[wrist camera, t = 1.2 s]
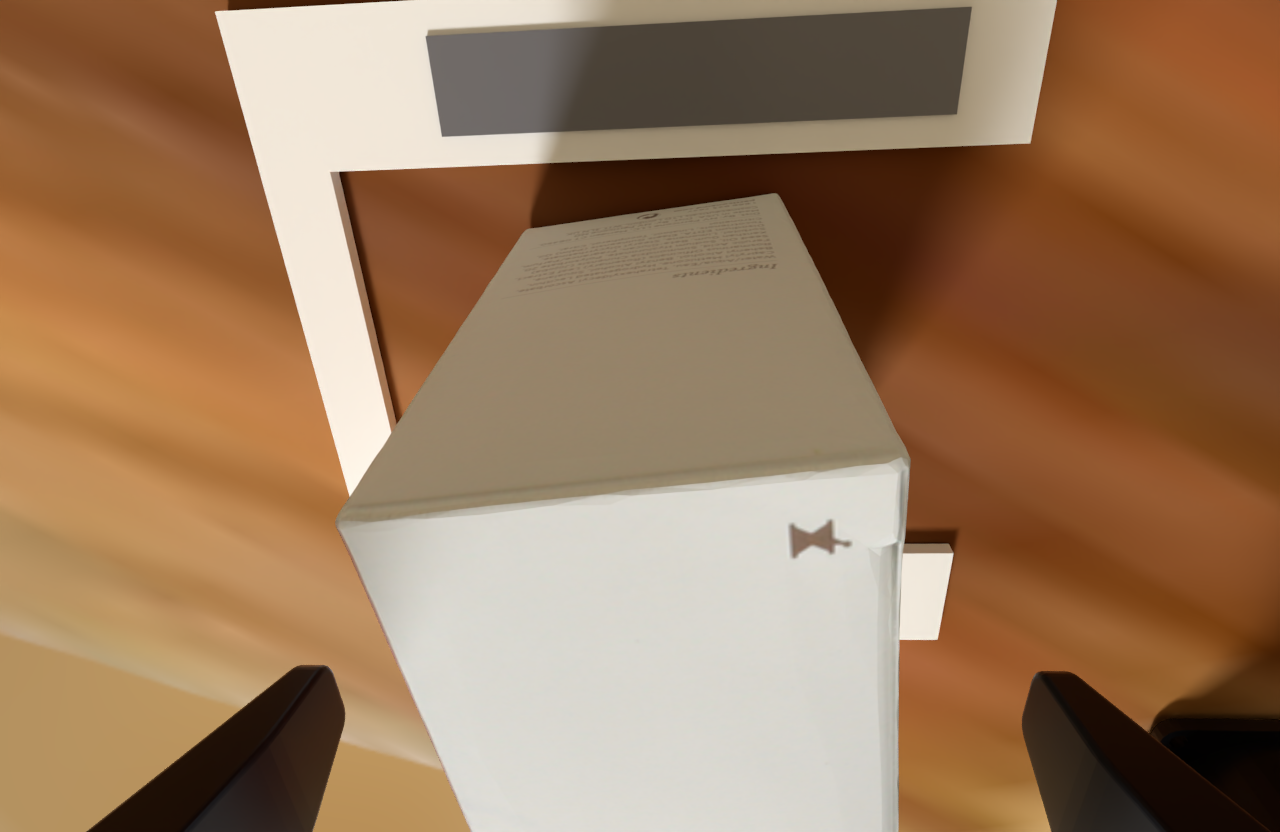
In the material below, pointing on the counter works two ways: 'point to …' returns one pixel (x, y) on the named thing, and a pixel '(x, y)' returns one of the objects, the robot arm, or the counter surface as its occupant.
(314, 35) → the bracket
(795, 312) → the small box
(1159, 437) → the counter surface
